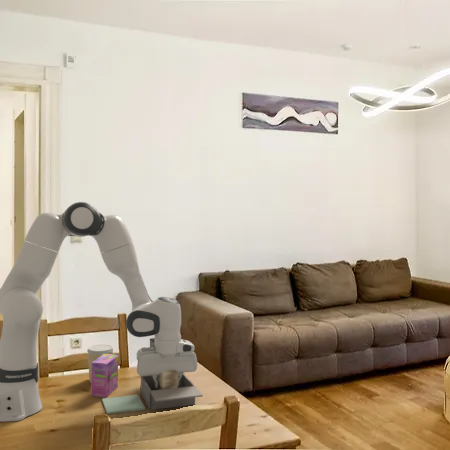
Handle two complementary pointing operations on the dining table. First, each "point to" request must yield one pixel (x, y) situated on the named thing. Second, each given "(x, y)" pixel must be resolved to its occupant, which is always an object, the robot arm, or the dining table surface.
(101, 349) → the coffee cup
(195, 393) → the carton
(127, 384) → the dining table surface
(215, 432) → the dining table surface
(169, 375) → the capped box
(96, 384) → the box
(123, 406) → the mat
